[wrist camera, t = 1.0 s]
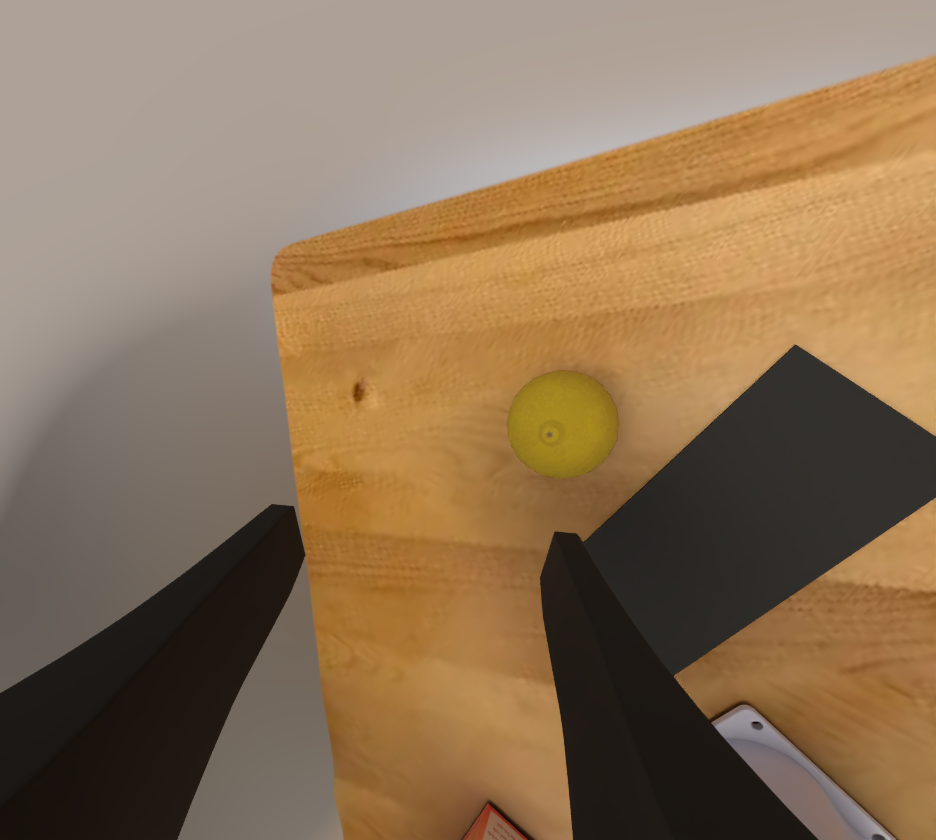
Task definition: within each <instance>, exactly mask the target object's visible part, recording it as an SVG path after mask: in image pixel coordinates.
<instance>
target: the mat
mask: <svg viewBox="0 0 936 840" xmlns="http://www.w3.org/2000/svg"><path fill="white" fill-rule="evenodd" d="M934 498H936V436H934V435H932V434H931V433H929V432H928V431H926V430H925V429H923V428H922V427H920V426H919V425H917V424H916V423H914V422H913V421H911V420H910V419H908V418H907V417H905V416H904V415H902V414H901V413H899V412H898V411H896V410H894V409H893V408H891V407H890V406H888V405H887V404H885V403H884V402H882V401H881V400H879V399H878V398H876V397H875V396H873V395H872V394H870V393H869V392H867V391H866V390H864V389H863V388H861V387H860V386H858V385H857V384H855V383H853V382H852V381H850V380H849V379H847V378H846V377H844V376H843V375H841V374H840V373H838V372H837V371H835V370H834V369H832V368H831V367H829V366H828V365H826V364H825V363H823V362H822V361H820V360H819V359H817V358H816V357H814V356H812V355H811V354H809V353H808V352H806V351H805V350H803V349H802V348H800V347H799V346H797V345H795V346H794V347H793V348H792V349H791V350H789V351H788V352H787V353H786V354H785V355H784V356H783V357H782V358H781V359H780V360H779V361H778V362H777V363H776V364H774V365H773V366H772V367H771V368H770V369H769V370H768V371H767V372H766V373H765V374H764V375H763V376H762V377H761V378H759V379H758V380H757V381H756V382H755V383H754V384H753V385H752V386H751V387H750V388H749V389H748V390H747V391H746V392H744V393H743V394H742V395H741V396H740V397H739V398H738V399H737V400H736V401H735V402H734V403H733V404H732V405H731V406H729V407H728V408H727V409H726V410H725V411H724V412H723V413H722V414H721V415H720V416H719V417H718V418H717V419H716V420H714V421H713V422H712V423H711V424H710V425H709V426H708V427H707V428H706V429H705V430H704V431H703V432H702V433H701V434H699V435H698V436H697V437H696V438H695V439H694V440H693V441H692V442H691V443H690V444H689V445H688V446H687V447H686V448H684V449H683V450H682V451H681V452H680V453H679V454H678V455H677V456H676V457H675V458H674V459H673V460H672V461H671V462H670V463H668V464H667V465H666V466H665V467H664V468H663V469H662V470H661V471H660V472H659V473H658V474H657V475H656V476H655V477H653V478H652V479H651V480H650V481H649V482H648V483H647V484H646V485H645V486H644V487H643V488H642V489H641V490H640V491H638V492H637V493H636V494H635V495H634V496H633V497H632V498H631V499H630V500H629V501H628V502H627V503H626V504H625V505H623V506H622V507H621V508H620V509H619V510H618V511H617V512H616V513H615V514H614V515H613V516H612V517H611V518H610V519H608V520H607V521H606V522H605V523H604V524H603V525H602V526H601V527H600V528H599V529H598V530H597V531H596V532H595V533H593V534H592V535H591V536H590V537H589V538H588V539H587V540H586V541H585V542H584V543H583V544H584V546H585V547H586V549H587V551H588V552H589V554H590V556H591V557H592V559H593V561H594V562H595V564H596V566H597V567H598V569H599V570H600V572H601V574H602V575H603V577H604V578H605V580H606V582H607V583H608V585H609V586H610V588H611V590H612V591H613V593H614V594H615V596H616V597H617V599H618V600H619V602H620V603H621V605H622V606H623V608H624V609H625V611H626V612H627V614H628V615H629V617H630V618H631V620H632V621H633V622H634V624H635V625H636V627H637V628H638V630H639V631H640V632H641V634H642V635H643V637H644V638H645V639H646V641H647V642H648V644H649V645H650V646H651V648H652V649H653V650H654V652H655V653H656V654H657V656H658V657H659V659H660V660H661V661H662V662H663V664H664V665H665V666H666V668H667V669H668V670H669V672H670V673H671V674H672V675H673V676H674V675H675V674H677V673H678V672H680V671H681V670H683V669H684V668H686V667H687V666H688V665H690V664H691V663H693V662H694V661H696V660H697V659H699V658H700V657H702V656H703V655H705V654H706V653H708V652H709V651H711V650H712V649H713V648H715V647H716V646H718V645H719V644H721V643H722V642H724V641H725V640H727V639H728V638H730V637H731V636H733V635H734V634H736V633H737V632H739V631H740V630H741V629H743V628H744V627H746V626H747V625H749V624H750V623H752V622H753V621H755V620H756V619H758V618H759V617H761V616H762V615H764V614H765V613H766V612H768V611H769V610H771V609H772V608H774V607H775V606H777V605H778V604H780V603H781V602H783V601H784V600H786V599H787V598H789V597H790V596H791V595H793V594H794V593H796V592H797V591H799V590H800V589H802V588H803V587H805V586H806V585H808V584H809V583H811V582H812V581H814V580H815V579H816V578H818V577H819V576H821V575H822V574H824V573H825V572H827V571H828V570H830V569H831V568H833V567H834V566H836V565H837V564H839V563H840V562H841V561H843V560H844V559H846V558H847V557H849V556H850V555H852V554H853V553H855V552H856V551H858V550H859V549H861V548H862V547H864V546H865V545H866V544H868V543H869V542H871V541H872V540H874V539H875V538H877V537H878V536H880V535H881V534H883V533H884V532H886V531H887V530H889V529H890V528H891V527H893V526H894V525H896V524H897V523H899V522H900V521H902V520H903V519H905V518H906V517H908V516H909V515H911V514H912V513H914V512H915V511H916V510H918V509H919V508H921V507H922V506H924V505H925V504H927V503H928V502H930V501H931V500H933V499H934ZM540 585H541V583H540Z"/></svg>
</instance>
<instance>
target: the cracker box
mask: <svg viewBox="0 0 936 840" xmlns="http://www.w3.org/2000/svg"><path fill="white" fill-rule="evenodd" d="M463 840H528V839H527V838H526V837H524V836H523V835H522V834H521V833H520V832H519V831H518V830H517V829H516V828H514V827H513V826H512V825H511V824H510V823H509V822H508V821H507V820H506V819H505V818H504V817H502V816H501V815H500V814H499V813H498V812H497V811H496V810H495V809H494V808H493V807H492V806H490V805H489V804H487V805H486V806H485V808H484V809H483V811H482V812H481V814H480V815H479V817H478V818H477V820H476V821H475V822H474V824H473V825H472V827H471V828H470V830H469V831H468V833H467V834H466V835H465V837H464V838H463Z"/></svg>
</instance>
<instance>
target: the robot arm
mask: <svg viewBox="0 0 936 840" xmlns="http://www.w3.org/2000/svg"><path fill="white" fill-rule="evenodd" d="M304 557H305V552H304V547H303V543H302V539H301V535H300V530H299V526H298V522H297V518H296V513H295V509H294V506H286V505H275V504H271V505H270V506H269V507H268V508H266V509H265V510H264V511H263V512H261V513H260V514H259V515H257V516H256V517H255V518H254V519H253V520H251V521H250V522H249V523H247V524H246V525H245V526H244V527H242V528H241V529H240V530H239V531H237V532H236V533H235V534H234V535H232V536H231V537H230V538H229V539H227V540H226V541H225V542H224V543H222V544H221V545H220V546H219V547H217V548H216V549H215V550H213V552H211V553H210V554H208V555H207V556H206V557H204V558H203V559H202V560H201V561H199V562H198V563H197V564H195V565H194V566H193V567H192V568H190V569H189V570H188V571H186V572H185V573H184V574H182V575H181V576H180V577H178V578H177V579H176V580H174V581H173V582H171V583H170V584H169V585H167V586H166V587H165V588H163V589H162V590H161V591H159V592H158V593H157V594H155V595H154V596H152V597H151V598H150V599H148V600H147V601H145V602H144V603H143V604H141V605H140V606H138V607H137V608H135V609H134V610H133V611H131V612H130V613H128V614H127V615H125V616H124V617H122V618H121V619H120V620H118V621H116V622H115V623H113V624H112V625H110V626H109V627H107V628H106V629H104V630H103V631H101V632H100V633H98V634H97V635H95V636H93V637H92V638H90V639H89V640H87V641H86V642H84V643H83V644H81V645H80V646H78V647H76V648H75V649H73V650H72V651H70V652H68V653H67V654H65V655H64V656H62V657H60V658H59V659H57V660H55V661H54V662H52V663H51V664H49V665H47V666H46V667H44V668H42V669H40V670H39V671H37V672H35V673H34V674H32V675H30V676H29V677H27V678H25V679H23V680H22V681H20V682H18V683H17V684H16V685H13V686H12V687H10V688H8V689H7V690H5V691H3V692H2V693H0V840H177V839H178V836H179V834H180V831H181V828H182V826H183V823H184V821H185V818H186V815H187V813H188V810H189V808H190V805H191V802H192V800H193V798H194V795H195V793H196V790H197V788H198V786H199V783H200V781H201V778H202V776H203V773H204V771H205V768H206V766H207V764H208V761H209V759H210V756H211V754H212V751H213V749H214V747H215V744H216V742H217V740H218V737H219V735H220V733H221V730H222V728H223V726H224V723H225V721H226V719H227V717H228V714H229V712H230V710H231V707H232V705H233V703H234V701H235V699H236V697H237V695H238V692H239V690H240V688H241V686H242V684H243V682H244V680H245V678H246V676H247V675H248V673H249V671H250V669H251V667H252V665H253V663H254V661H255V660H256V658H257V656H258V654H259V652H260V650H261V648H262V646H263V644H264V643H265V640H266V639H267V637H268V635H269V633H270V631H271V629H272V627H273V626H274V624H275V622H276V620H277V618H278V616H279V614H280V612H281V610H282V608H283V607H284V605H285V603H286V601H287V599H288V597H289V595H290V593H291V591H292V588H293V586H294V583H295V581H296V578H297V576H298V573H299V570H300V568H301V565H302V563H303V560H304ZM540 582H541V598H542V610H543V619H544V625H545V631H546V636H547V642H548V648H549V653H550V659H551V664H552V670H553V675H554V681H555V686H556V692H557V697H558V703H559V709H560V715H561V722H562V728H563V736H564V746H565V756H566V766H567V776H568V786H569V797H570V808H571V820H572V831H573V840H896V839H895V838H894V837H893V836H892V835H891V834H890V833H889V832H888V831H887V830H886V829H885V828H883V827H882V826H881V825H880V824H879V823H878V822H877V821H876V820H875V819H874V818H873V817H871V816H870V815H869V814H868V813H867V812H866V811H865V810H864V809H863V808H862V807H861V806H860V805H858V804H857V803H856V802H855V801H854V800H853V799H852V798H851V797H850V796H849V795H848V794H846V793H845V792H844V791H843V790H842V789H841V788H840V787H839V786H838V785H837V784H836V783H835V782H833V781H832V780H831V779H830V778H829V777H828V776H827V775H826V774H825V773H824V772H823V771H821V770H820V769H819V768H818V767H817V766H816V765H815V764H814V763H813V762H812V761H811V760H810V759H808V758H807V757H806V756H805V755H804V754H803V753H802V752H801V751H800V750H799V749H798V748H796V747H795V746H794V745H793V744H792V743H791V742H790V741H789V740H788V739H787V738H786V737H785V736H783V735H782V734H781V733H780V732H779V731H778V730H777V729H776V728H775V727H774V726H773V725H771V724H770V723H769V722H768V721H767V720H766V719H765V718H764V717H763V716H762V715H761V714H759V713H758V712H757V711H756V710H755V709H754V708H753V707H751V706H749V705H740V706H738V707H736V708H735V709H733V710H731V711H730V712H728V713H726V714H725V715H723V716H721V717H720V718H718V719H716V720H715V721H713V722H710V721H709V720H708V718H707V717H706V716H705V715H704V714H703V713H702V711H701V710H700V709H699V708H698V707H697V705H696V704H695V703H694V702H693V700H692V699H691V698H690V697H689V696H688V694H687V693H686V692H685V691H684V689H683V688H682V687H681V686H680V684H679V683H678V682H677V681H676V679H675V678H674V677H673V675H672V674H671V673H670V672H669V670H668V669H667V668H666V666H665V665H664V664H663V662H662V661H661V660H660V659H659V657H658V656H657V654H656V653H655V652H654V650H653V649H652V648H651V646H650V645H649V644H648V642H647V641H646V639H645V638H644V637H643V635H642V634H641V632H640V631H639V630H638V628H637V627H636V625H635V624H634V622H633V621H632V620H631V618H630V617H629V615H628V614H627V612H626V611H625V609H624V608H623V606H622V605H621V603H620V602H619V600H618V599H617V597H616V596H615V594H614V593H613V591H612V590H611V588H610V586H609V585H608V583H607V582H606V580H605V578H604V577H603V575H602V574H601V572H600V570H599V569H598V567H597V566H596V564H595V562H594V561H593V559H592V557H591V556H590V554H589V552H588V551H587V549H586V547H585V546H584V544H583V542H582V540H581V539H580V537H579V536H578V535H577V534H576V533H565V532H554V535H553V538H552V542H551V545H550V548H549V551H548V554H547V557H546V561H545V564H544V567H543V570H542V573H541V577H540ZM754 721H757V722H759V723H758V724H754V723H752V722H754ZM874 834H878V835H874Z"/></svg>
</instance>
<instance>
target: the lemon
mask: <svg viewBox="0 0 936 840" xmlns="http://www.w3.org/2000/svg"><path fill="white" fill-rule="evenodd" d="M618 426H619V420H618V414H617V409H616V406H615V404H614V402H613V400H612V398H611V396H610V395H609V393H608V392H607V391H606V390H605V389H604V387H603V386H602V385H601V384H599V383H598V382H596V381H595V380H594V379H592V378H591V377H588V376H586V375H583V374H581V373H578V372H571V371H556V372H549V373H546V374H544V375H541V376H539V377H536V378H535V379H533V380H532V381H531V382H529V383H528V384H526V385H525V386H524V387H523V388H522V389H521V391H520V392H519V393H518V394H517V395H516V397H515V399H514V401H513V403H512V405H511V407H510V411H509V416H508V420H507V427H508V436H509V440H510V443H511V446H512V448H513V450H514V451H515V453H516V455H517V457H518V458H519V459H520V460H521V461H522V462H523V463H524V464H525V465H526V466H527V467H529V468H530V469H532V470H534V471H535V472H537V473H539V474H542V475H545V476H548V477H553V478H562V479H564V478H571V477H577V476H580V475H582V474H585V473H587V472H590V471H591V470H593V469H594V468H596V467H597V466H598V465H600V464H601V463H602V462H603V461H604V460H605V458H606V457H607V456H608V455H609V453H610V452H611V451H612V448H613V446H614V444H615V441H616V439H617V434H618Z"/></svg>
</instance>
